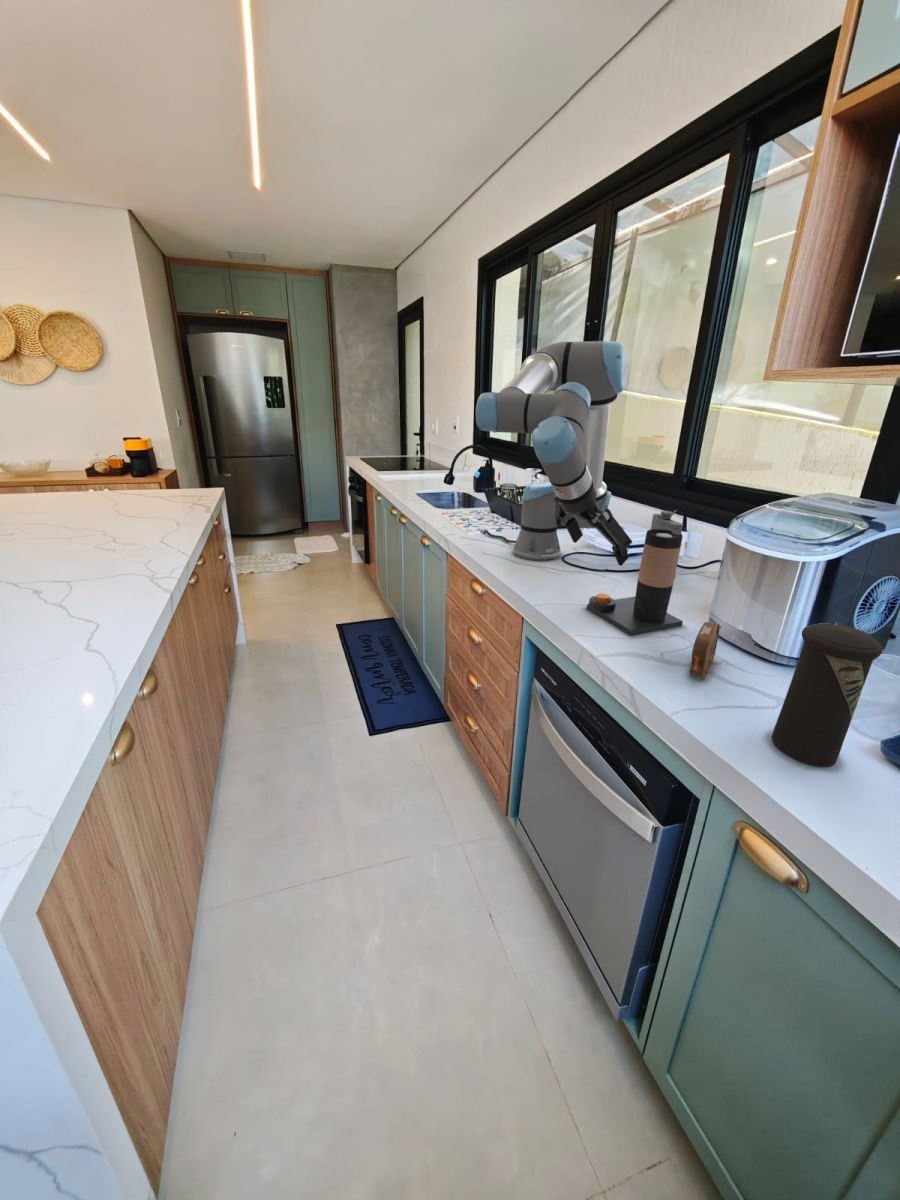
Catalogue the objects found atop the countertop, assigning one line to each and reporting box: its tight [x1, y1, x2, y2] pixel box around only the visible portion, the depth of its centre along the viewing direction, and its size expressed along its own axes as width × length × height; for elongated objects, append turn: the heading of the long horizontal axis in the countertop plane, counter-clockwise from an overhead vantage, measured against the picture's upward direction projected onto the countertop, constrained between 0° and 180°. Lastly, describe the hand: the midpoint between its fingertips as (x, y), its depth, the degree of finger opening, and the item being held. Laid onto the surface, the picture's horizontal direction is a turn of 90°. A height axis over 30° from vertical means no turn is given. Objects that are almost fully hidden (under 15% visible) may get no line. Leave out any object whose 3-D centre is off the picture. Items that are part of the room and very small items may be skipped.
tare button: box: [595, 593, 611, 604], centre depth 122 cm, size 3×3×2 cm
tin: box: [688, 621, 720, 681], centre depth 97 cm, size 15×3×8 cm, turn 145°
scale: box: [586, 595, 684, 637], centre depth 120 cm, size 16×16×3 cm
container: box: [771, 623, 883, 768], centre depth 73 cm, size 9×9×20 cm
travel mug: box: [633, 529, 683, 622], centre depth 115 cm, size 8×8×20 cm
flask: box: [650, 510, 684, 535], centre depth 151 cm, size 4×14×18 cm, turn 6°
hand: (600, 549), depth 116 cm, fingers open, 13 cm apart
